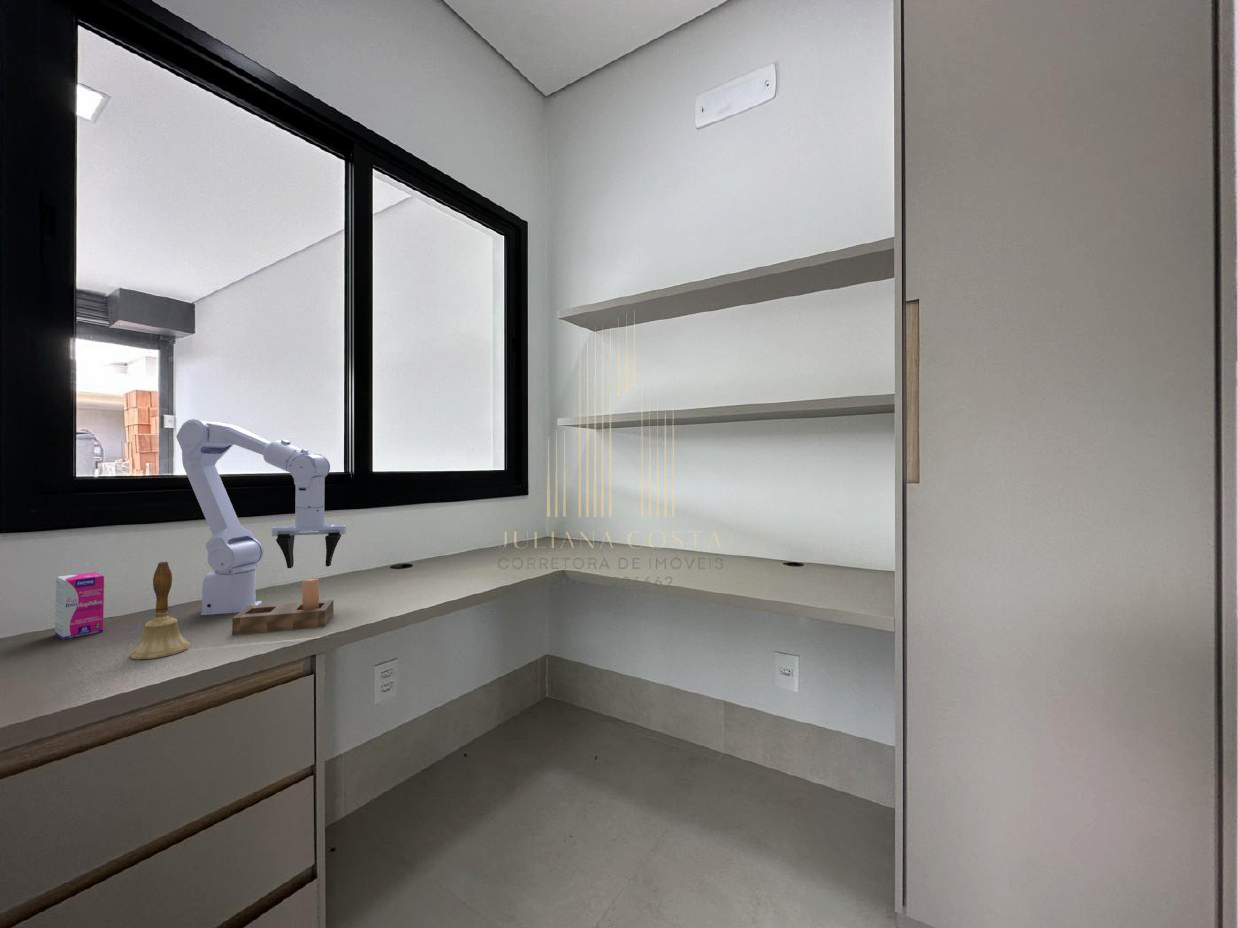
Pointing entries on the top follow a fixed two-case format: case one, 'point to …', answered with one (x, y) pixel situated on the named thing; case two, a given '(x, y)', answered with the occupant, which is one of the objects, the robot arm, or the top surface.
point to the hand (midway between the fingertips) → (309, 566)
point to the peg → (310, 594)
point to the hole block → (281, 617)
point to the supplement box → (79, 605)
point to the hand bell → (161, 623)
